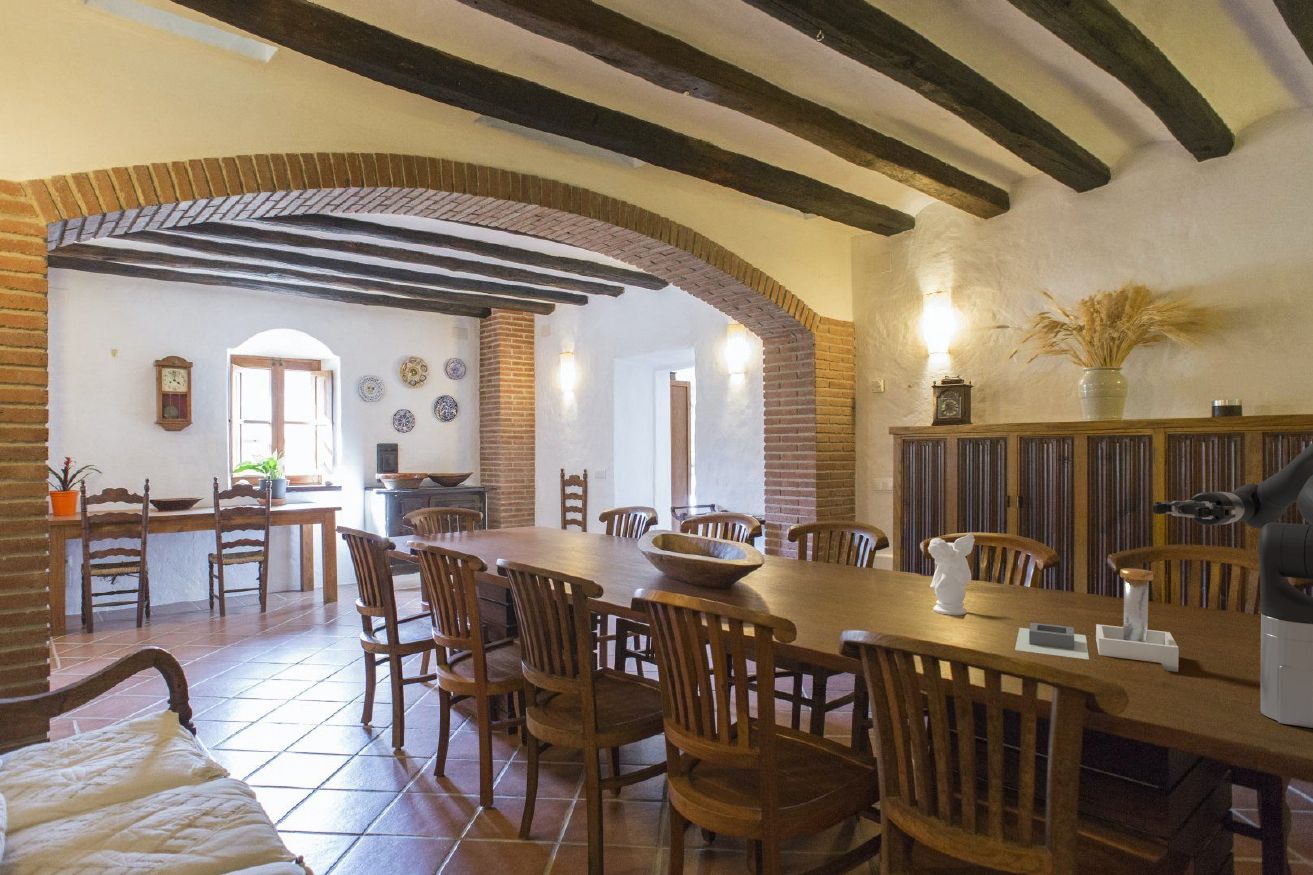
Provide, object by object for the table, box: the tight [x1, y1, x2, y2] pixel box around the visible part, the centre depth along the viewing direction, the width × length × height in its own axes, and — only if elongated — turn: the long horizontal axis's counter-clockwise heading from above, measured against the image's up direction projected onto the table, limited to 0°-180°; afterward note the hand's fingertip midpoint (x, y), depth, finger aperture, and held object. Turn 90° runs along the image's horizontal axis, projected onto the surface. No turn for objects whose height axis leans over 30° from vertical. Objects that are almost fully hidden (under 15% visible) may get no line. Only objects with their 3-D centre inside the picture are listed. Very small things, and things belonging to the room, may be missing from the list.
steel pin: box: [1119, 567, 1154, 643], centre depth 161 cm, size 6×6×18 cm
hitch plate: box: [1014, 622, 1090, 660], centre depth 168 cm, size 22×14×4 cm, turn 151°
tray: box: [1095, 623, 1180, 673], centre depth 161 cm, size 14×14×5 cm
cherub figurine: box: [927, 532, 976, 616], centre depth 206 cm, size 12×12×22 cm
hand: (1175, 510), depth 163 cm, fingers open, 8 cm apart
